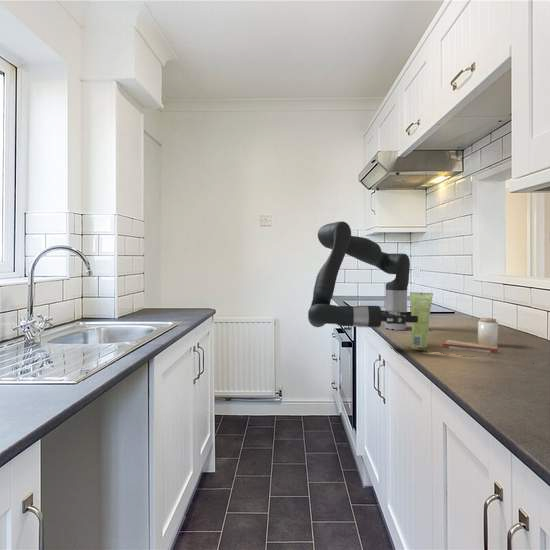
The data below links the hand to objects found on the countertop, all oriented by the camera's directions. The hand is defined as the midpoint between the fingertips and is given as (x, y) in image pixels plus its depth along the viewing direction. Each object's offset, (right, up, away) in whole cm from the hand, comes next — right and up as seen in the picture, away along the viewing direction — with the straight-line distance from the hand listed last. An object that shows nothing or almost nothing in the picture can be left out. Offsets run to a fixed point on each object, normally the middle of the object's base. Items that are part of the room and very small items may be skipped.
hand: (414, 317), depth 131 cm
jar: (+26, -10, +2) cm, 28 cm away
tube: (+2, -11, 0) cm, 11 cm away
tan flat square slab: (+20, -11, +1) cm, 22 cm away
